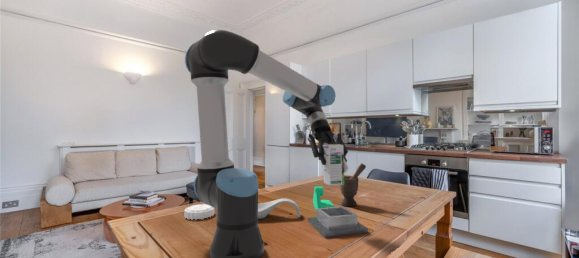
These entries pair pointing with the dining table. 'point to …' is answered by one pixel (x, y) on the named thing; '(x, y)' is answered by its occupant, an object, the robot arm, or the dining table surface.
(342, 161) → the syrup box
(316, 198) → the camera mount
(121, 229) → the dining table surface
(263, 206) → the spoon rest
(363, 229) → the docking sleeve
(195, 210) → the mooncake
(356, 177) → the mortar and pestle
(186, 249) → the dining table surface
